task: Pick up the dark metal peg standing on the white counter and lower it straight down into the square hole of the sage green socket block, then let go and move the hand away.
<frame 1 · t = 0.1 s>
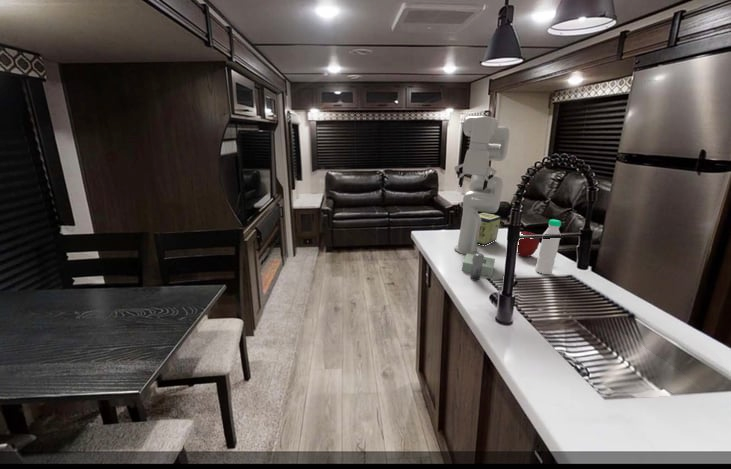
hand: (472, 188, 146), 37 cm above the countertop, tool pointing down, fingers open, 9 cm apart
peg: (474, 278, 145), on the countertop
water bottle: (542, 272, 157), on the countertop
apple: (523, 255, 178), on the countertop
socket block: (477, 268, 156), on the countertop
protein box: (481, 242, 196), on the countertop
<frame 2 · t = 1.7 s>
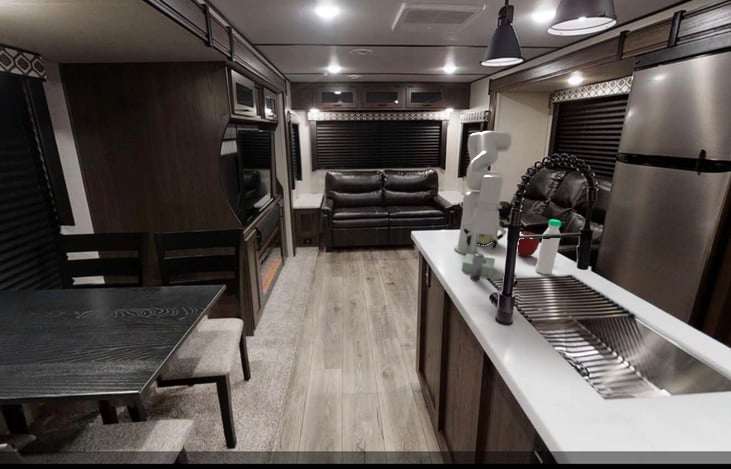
hand: (480, 247, 140), 15 cm above the countertop, tool pointing down, fingers open, 9 cm apart
nothing on the countertop moved.
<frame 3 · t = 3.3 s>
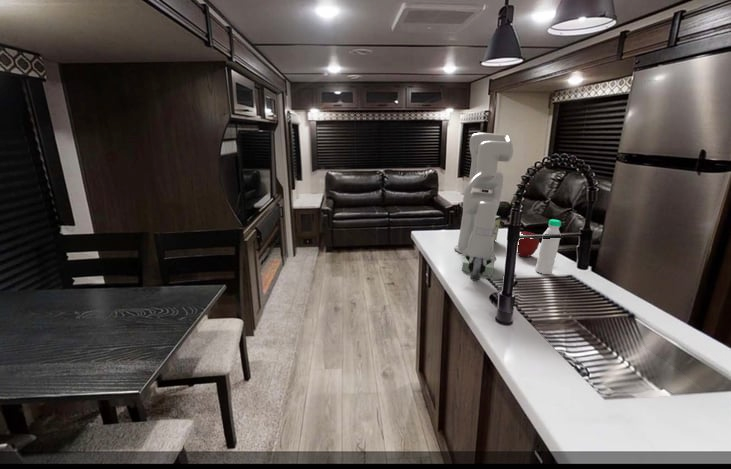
hand: (476, 271, 144), 3 cm above the countertop, tool pointing down, fingers closed on peg, 4 cm apart
peg: (474, 278, 145), on the countertop, touching gripper
everything else where it was.
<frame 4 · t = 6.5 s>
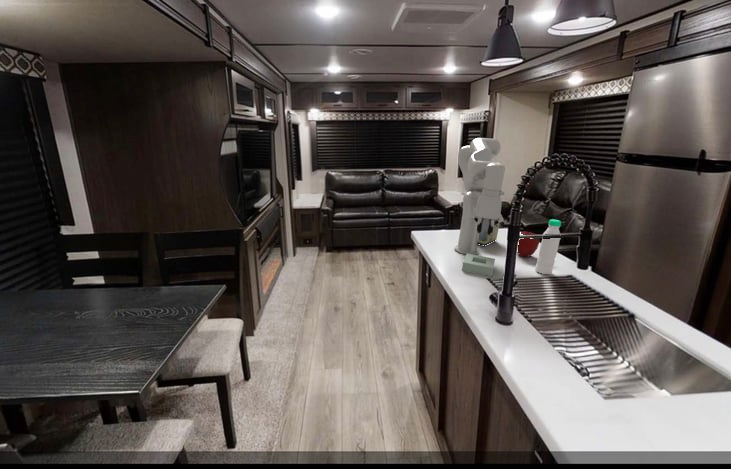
hand: (484, 232, 151), 17 cm above the countertop, tool pointing down, fingers closed on peg, 4 cm apart
peg: (482, 239, 152), point 14 cm above the countertop, touching gripper
everything else where it was.
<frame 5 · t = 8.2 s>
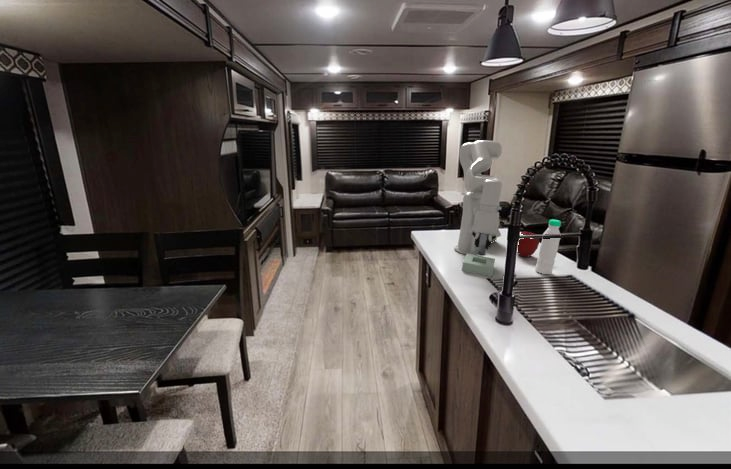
hand: (481, 247, 153), 10 cm above the countertop, tool pointing down, fingers closed on peg, 4 cm apart
peg: (480, 254, 154), point 7 cm above the countertop, touching gripper
everything else where it was.
when the fingers open (5 cm above the countertop, at t = 9.8 s): peg drops 1 cm, resting in socket block.
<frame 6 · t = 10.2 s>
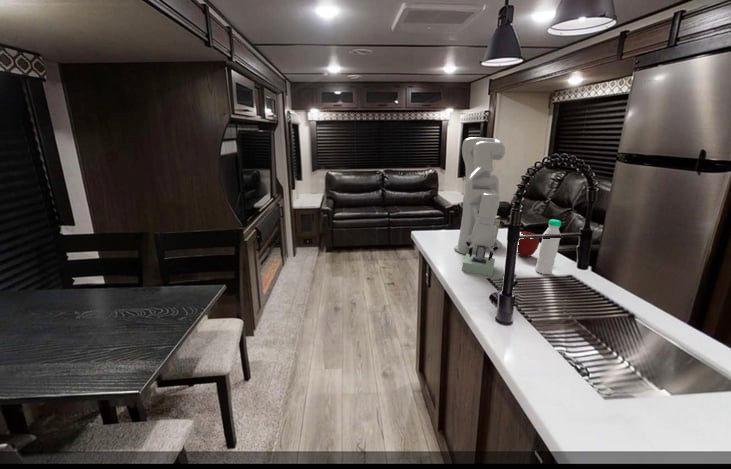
hand: (479, 257, 155), 5 cm above the countertop, tool pointing down, fingers open, 7 cm apart
peg: (477, 268, 156), resting in socket block
everything else where it was.
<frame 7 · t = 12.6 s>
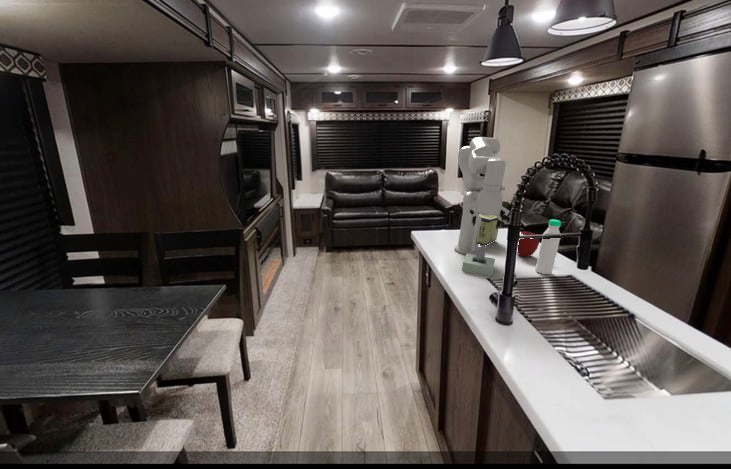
hand: (485, 226, 150), 20 cm above the countertop, tool pointing down, fingers open, 9 cm apart
nothing on the countertop moved.
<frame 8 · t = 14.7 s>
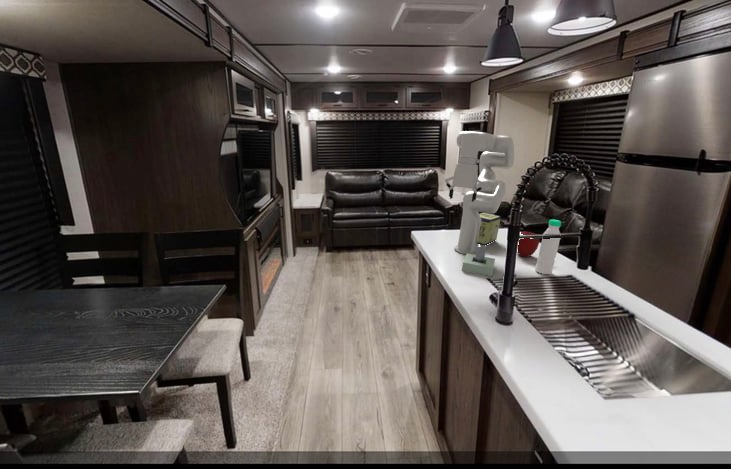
hand: (461, 199, 153), 30 cm above the countertop, tool pointing down, fingers open, 9 cm apart
nothing on the countertop moved.
at the end: peg 0.1 cm off-centre on the socket block, point 0.0 cm above the socket block's base; peg tilted 0°; the gripper is holding nothing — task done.
